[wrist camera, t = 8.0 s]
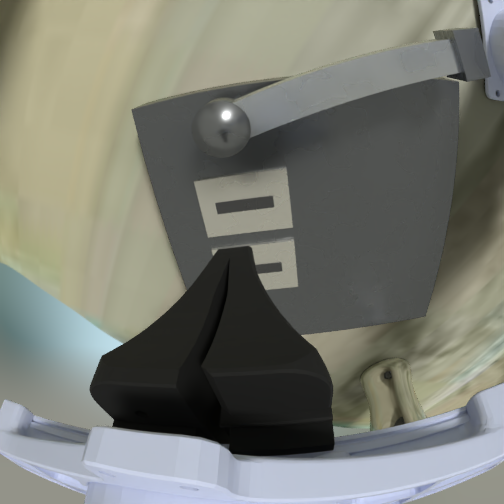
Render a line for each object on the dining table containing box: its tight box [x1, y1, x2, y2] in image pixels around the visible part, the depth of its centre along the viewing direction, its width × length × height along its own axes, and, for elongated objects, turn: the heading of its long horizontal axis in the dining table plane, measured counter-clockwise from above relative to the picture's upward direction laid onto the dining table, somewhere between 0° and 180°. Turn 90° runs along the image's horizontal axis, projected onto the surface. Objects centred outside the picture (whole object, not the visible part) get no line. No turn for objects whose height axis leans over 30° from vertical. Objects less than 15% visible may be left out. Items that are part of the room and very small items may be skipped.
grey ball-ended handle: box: [191, 28, 491, 158], centre depth 11 cm, size 14×2×2 cm, turn 114°
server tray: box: [132, 76, 459, 335], centre depth 19 cm, size 18×18×4 cm
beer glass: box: [360, 358, 427, 431], centre depth 25 cm, size 7×7×15 cm
